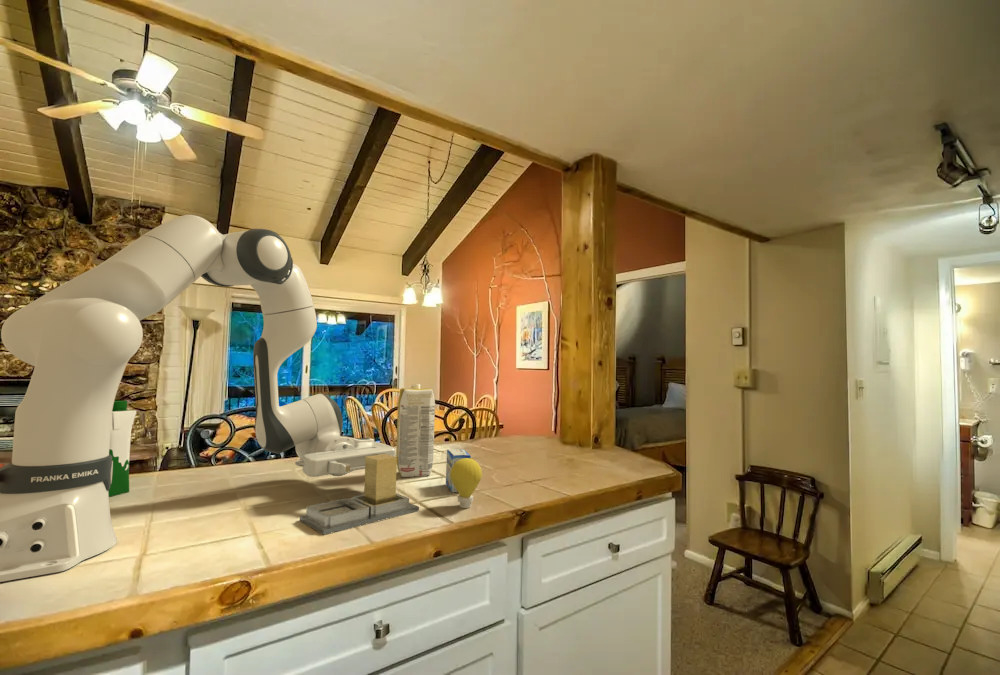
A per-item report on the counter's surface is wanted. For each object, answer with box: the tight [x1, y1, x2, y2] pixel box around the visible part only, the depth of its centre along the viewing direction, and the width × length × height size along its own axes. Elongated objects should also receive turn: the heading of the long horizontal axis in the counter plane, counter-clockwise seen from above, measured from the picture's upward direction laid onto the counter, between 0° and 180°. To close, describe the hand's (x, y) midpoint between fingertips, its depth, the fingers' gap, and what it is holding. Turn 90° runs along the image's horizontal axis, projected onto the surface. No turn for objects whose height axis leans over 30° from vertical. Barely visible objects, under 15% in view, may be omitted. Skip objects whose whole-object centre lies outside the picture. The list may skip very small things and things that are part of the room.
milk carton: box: [108, 399, 137, 498], centre depth 102 cm, size 9×9×20 cm
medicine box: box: [445, 448, 472, 494], centre depth 113 cm, size 8×4×9 cm, turn 17°
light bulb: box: [450, 458, 483, 509], centre depth 99 cm, size 7×7×10 cm
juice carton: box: [395, 383, 436, 478], centre depth 127 cm, size 9×8×24 cm
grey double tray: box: [299, 492, 420, 535], centre depth 92 cm, size 20×10×3 cm, turn 135°
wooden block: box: [363, 454, 398, 505], centre depth 95 cm, size 4×4×10 cm
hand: (368, 465), depth 99 cm, fingers open, 8 cm apart
